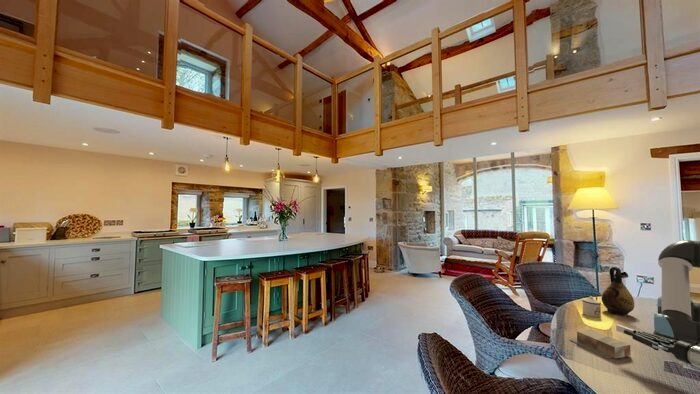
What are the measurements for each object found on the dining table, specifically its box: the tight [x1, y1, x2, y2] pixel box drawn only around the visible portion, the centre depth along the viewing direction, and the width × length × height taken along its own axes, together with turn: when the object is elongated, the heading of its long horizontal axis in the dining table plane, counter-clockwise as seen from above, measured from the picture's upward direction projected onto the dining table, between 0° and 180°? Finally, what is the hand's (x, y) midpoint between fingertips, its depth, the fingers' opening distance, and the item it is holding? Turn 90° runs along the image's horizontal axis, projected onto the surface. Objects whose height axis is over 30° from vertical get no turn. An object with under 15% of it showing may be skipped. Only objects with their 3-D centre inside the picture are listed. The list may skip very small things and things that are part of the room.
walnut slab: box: [576, 329, 632, 359], centre depth 129 cm, size 5×10×16 cm
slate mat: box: [569, 337, 614, 359], centre depth 131 cm, size 17×14×1 cm
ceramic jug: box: [601, 266, 635, 317], centre depth 176 cm, size 17×15×30 cm
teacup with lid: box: [581, 296, 602, 318], centre depth 173 cm, size 12×9×12 cm
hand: (617, 327), depth 124 cm, fingers closed
